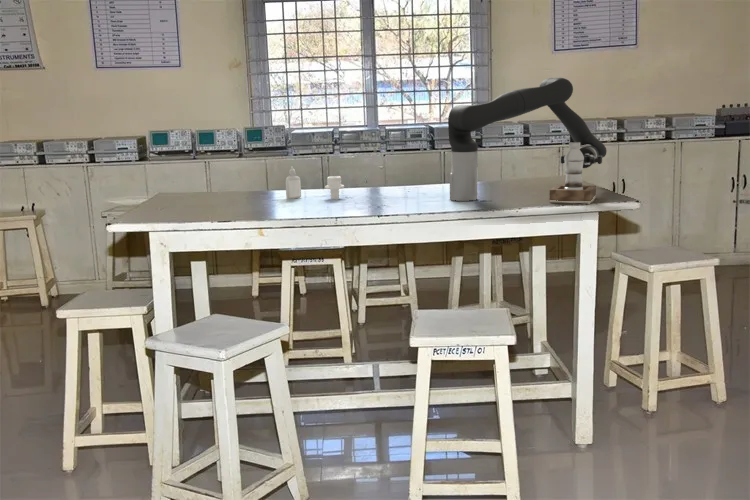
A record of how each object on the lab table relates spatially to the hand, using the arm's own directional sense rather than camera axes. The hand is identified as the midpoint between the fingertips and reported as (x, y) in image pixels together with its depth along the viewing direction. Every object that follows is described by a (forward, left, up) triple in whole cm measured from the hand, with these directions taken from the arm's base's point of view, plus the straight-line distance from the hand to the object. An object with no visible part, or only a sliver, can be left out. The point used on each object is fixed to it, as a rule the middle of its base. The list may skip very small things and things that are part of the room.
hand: (578, 161), depth 262 cm
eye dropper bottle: (-101, -27, -13) cm, 105 cm away
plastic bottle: (0, -9, -13) cm, 16 cm away
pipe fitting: (-85, -24, -13) cm, 89 cm away
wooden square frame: (0, -9, -13) cm, 16 cm away
